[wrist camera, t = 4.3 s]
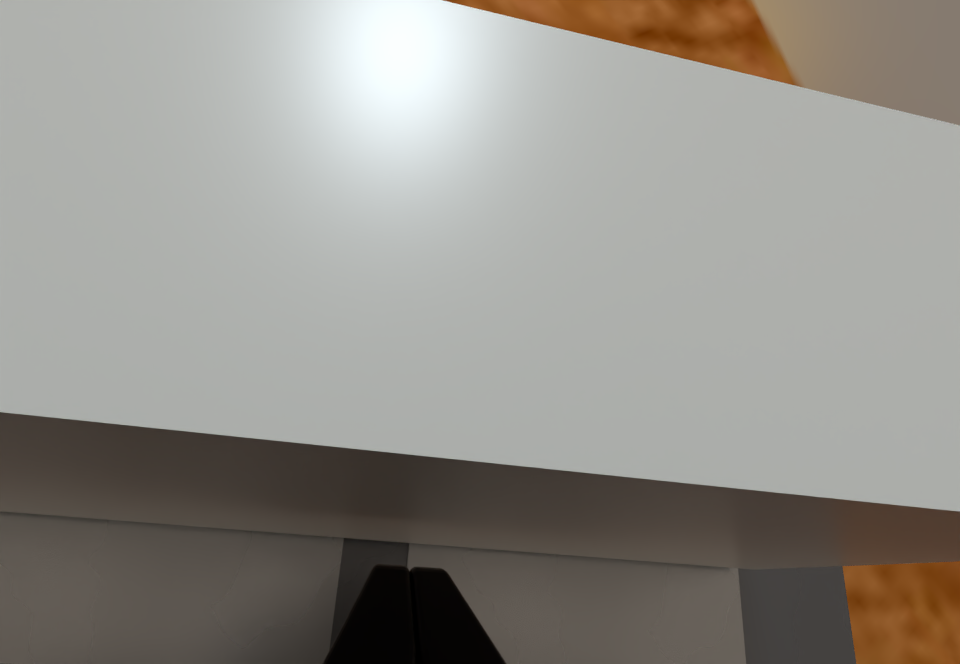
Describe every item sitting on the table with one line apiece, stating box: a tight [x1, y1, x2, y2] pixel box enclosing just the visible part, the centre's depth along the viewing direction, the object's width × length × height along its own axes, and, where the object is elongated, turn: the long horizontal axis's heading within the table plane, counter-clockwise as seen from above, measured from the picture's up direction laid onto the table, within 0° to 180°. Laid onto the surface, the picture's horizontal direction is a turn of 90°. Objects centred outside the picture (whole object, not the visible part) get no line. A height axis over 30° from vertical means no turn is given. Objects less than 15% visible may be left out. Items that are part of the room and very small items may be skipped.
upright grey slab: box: [0, 0, 960, 570], centre depth 8 cm, size 22×4×8 cm, turn 86°
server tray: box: [0, 511, 856, 664], centre depth 13 cm, size 10×25×3 cm, turn 86°
